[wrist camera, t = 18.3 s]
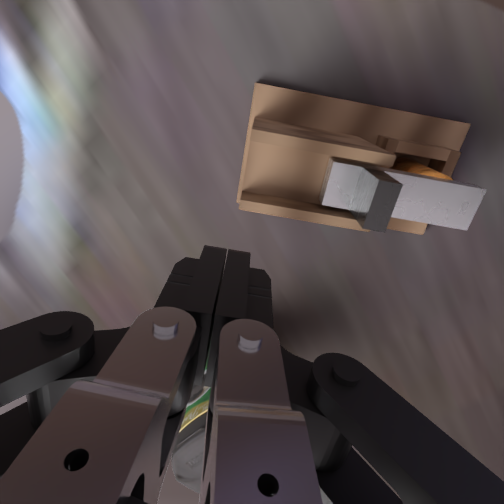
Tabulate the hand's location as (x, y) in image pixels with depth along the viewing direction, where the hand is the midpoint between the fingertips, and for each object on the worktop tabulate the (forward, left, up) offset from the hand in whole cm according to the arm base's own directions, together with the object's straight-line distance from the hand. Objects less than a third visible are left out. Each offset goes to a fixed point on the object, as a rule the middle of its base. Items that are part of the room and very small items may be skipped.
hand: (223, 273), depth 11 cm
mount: (-10, 0, -27) cm, 29 cm away
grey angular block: (-12, 0, -18) cm, 21 cm away
